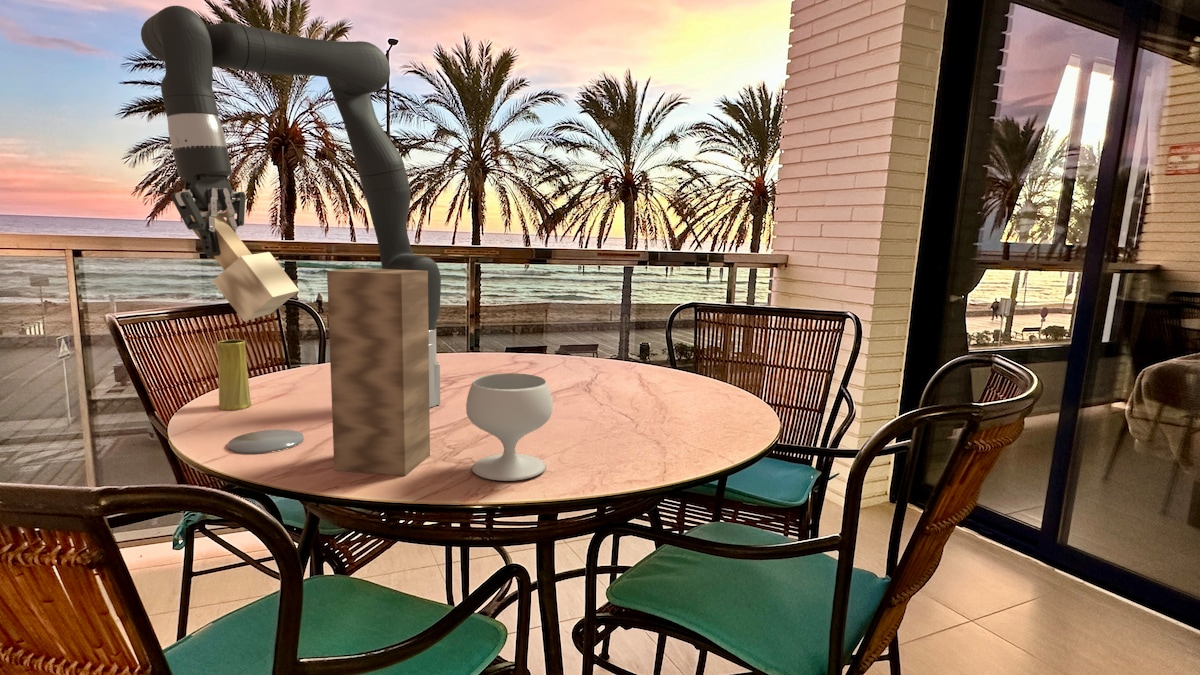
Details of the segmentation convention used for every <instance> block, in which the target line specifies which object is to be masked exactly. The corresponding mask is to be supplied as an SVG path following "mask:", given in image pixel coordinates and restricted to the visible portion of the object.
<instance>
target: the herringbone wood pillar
mask: <svg viewBox="0 0 1200 675" xmlns="http://www.w3.org/2000/svg"><path fill="white" fill-rule="evenodd" d="M326 276H327V277H326V279H327V281H326V282H327V283H326V284H327V285H326V286H327V305H328V306H327V308H328V332H329V334H328V335H329V357H330V358H329V362H330V388H331V391H330V392H331V416H332V417H331V418H332V419H331V420H332V445H333V468H334V469H333V470H334V471H337V472H338V471H339V472H349V473H350V472H352V473H353V472H354V473H361V474H362V473H364V474H374V475H375V474H377V475H378V474H379V475H387V476H388V475H389V476H400V477H402V476H403V477H406V476H408V474H410V473H411V472H412V471H413V470H414V469H415V468H417V467H418V466H419V465H420V464H421V463H422V462H424V461H425V460H426V459H427V458H428V457H429V456H431V436H430V435H431V434H430V433H431V429H430V428H431V427H430V426H431V425H430V423H431V422H430V418H431V417H430V414H431V413H430V408H429V327H428V271H420V270H394V269H382V268H365V267H363V268H362V267H358V268H357V267H356V268H348V269H347V268H346V269H335V270H327V271H326Z"/></svg>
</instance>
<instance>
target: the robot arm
mask: <svg viewBox="0 0 1200 675" xmlns="http://www.w3.org/2000/svg"><path fill="white" fill-rule="evenodd" d="M140 30H141V31H140V38H141V42H142V44H143V47H145V48H146V50H147V51H148V53H150V54H151V55H152V56H154V57H155V58H157V59H158V60H160V61H162V62H164V66H165V74H164V77H163V78H162V80H161V83H160V92H161V97H162V101H163V105H164V110H165V115H166V120H167V130H168V135H169V136H168V137H169V141H170V145H171V146H170V147H171V149H172V150H171V151H172V153H173V154H172V156H173V157H174V158H173V160H174V162H175V167H176V173H177V175H178V177H179V178H180V179H184V185H183V190H182V191H179V192H173V193H171V194H170V198H171V200H172V202H173V204H174V206H175V208H176V209H177V211H178V213H179V215H180V217H181V218H182V221H183V222H184V225H185V226H186V229H188V230H189V231H190V230H192V229H193V230H196V231H197V232H198V233H200V236H201V240H202V241H201V240H200V241H201V244H202V249H203V251H204V254H205V255H206V256H207V257H214V256H219V255H220V254H221V252H220V247H219V243H218V238H217V233H216V232H214V231H215V218H216V217H217V211H219V214H220V215H221V216H222V217H223V218H224V219H225V220H226V222H227V223H228V224H229V225H230V227H231V228H232V229H233V231H234V232H235V233H236V234H237V230H238V228H239V227H240V226H244V224H245V213H246V209H245V208H246V194H245V192H244V191H237V190H234V189H233V188H232V187H233V186H232V185H231V184H230V182H229V179H228V178H229V176H230V177H231V175H232V174H233V171H232V165H231V162H230V156H229V152H228V151H229V150H228V147H227V142H226V137H225V133H224V129H223V127H222V123H221V119H220V118H219V117H220V116H219V112H218V107H217V103H216V99H215V93H214V91H213V75H214V72H213V70H214V68H228V69H232V70H237V71H239V70H240V71H244V72H250V73H257V74H266V75H275V76H276V75H279V76H280V75H281V76H314V77H321V78H326V80H327V82H328V85H329V88H330V90H331V93H332V95H333V98H334V101H335V103H336V106H337V108H338V111H339V114H340V116H341V118H342V122H343V124H344V127H345V131H346V134H347V138H348V140H349V144H350V148H351V151H352V155H353V157H354V160H355V165H356V168H357V172H358V176H359V177H358V178H359V180H360V184H361V187H362V190H363V194H364V197H365V200H366V203H367V206H368V210H369V213H370V219H371V222H372V226H373V228H374V232H375V236H376V241H377V246H378V250H379V251H378V252H379V256H380V257H379V258H380V263H381V264H380V265H381V269H394V270H420V271H428V327H429V409H430V408H433V407H435V406H440V405H441V364H440V362H438V361H437V321H438V318H439V316H440V312H441V296H442V295H441V293H442V291H441V290H442V280H441V279H442V278H441V271H440V267H439V266H438V264H437V263H436V261H434V260H433V258H430V257H428V256H425V255H415V254H414V253H413V250H412V246H411V242H410V239H409V234H408V226H407V225H408V218H409V216H408V215H409V211H410V204H411V195H412V194H411V188H410V183H409V178H408V175H407V170H406V167H405V166H406V165H405V164H404V160H403V158H402V156H401V154H400V152H399V151H398V149H397V147H396V146H395V145H394V143H393V142H392V140H391V139H390V138H389V136H388V135H387V133H386V132H385V130H384V129H383V127H382V126H381V124H380V122H379V120H378V118H377V115H376V112H375V109H374V105H373V102H372V98H371V94H372V93H375V92H378V91H380V90H381V89H383V88H384V87H385V86H386V84H388V82H389V79H390V77H391V67H390V63H389V60H388V58H387V56H386V54H385V52H383V51H382V50H381V49H380V48H379V47H378V46H377V45H375V44H373V43H371V42H368V41H363V40H362V41H360V40H357V41H343V40H342V41H340V40H339V41H337V40H326V39H319V38H318V39H317V38H311V37H304V36H297V35H292V34H286V33H283V32H282V33H281V32H277V31H276V32H275V31H273V30H267V29H264V28H258V27H253V26H249V25H243V24H239V23H233V22H219V23H215V24H205V23H204V21H203V19H201V17H200V16H199V15H198V14H197V13H196V12H195V11H193V10H192V9H190V8H188V7H186V6H182V5H169V6H167V7H164V8H162V9H161V10H160V11H158V12H156V13H155V14H153V15H152V16H150V17H149V18H148V19H147V20H145V21H144V23H143V25H142V27H141V29H140ZM198 209H199V210H201V211H207V212H199V210H198ZM190 215H192V216H193V218H194V220H195V221H193V220H192V218H191V216H190ZM235 215H236V218H235ZM204 218H206V219H207V223H205V221H204ZM193 230H192V231H193Z"/></svg>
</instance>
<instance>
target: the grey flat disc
mask: <svg viewBox="0 0 1200 675" xmlns="http://www.w3.org/2000/svg"><path fill="white" fill-rule="evenodd" d="M301 442H302V443H303V442H304V434H303V433H302V432H300V431H298V430H293V429H280V428H279V429H267V430H265V429H264V430H257V431H253V432H248V433H245V434H244V433H243V434H240V435H238V436H235V437H233V438H232V439H231V440H229V441H228V444H227V446H228V450H230V451H231V452H234V453H237V454H244V455H245V454H246V455H247V454H248V455H258V454H257V453H261V454H266V453H265V452H271V453H273V452H272V451H277V452H279V451H278V450H282V451H284V450H283V449H286V448H289V449H291V448H290V447H292V448H294V447H293V446H295V445H297V446H299V445H300V444H302V443H301ZM299 443H300V444H299ZM298 444H299V445H298ZM295 447H296V446H295ZM286 450H287V449H286Z"/></svg>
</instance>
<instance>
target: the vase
mask: <svg viewBox="0 0 1200 675" xmlns="http://www.w3.org/2000/svg"><path fill="white" fill-rule="evenodd" d="M216 353H217V362H218V363H217V364H218V371H217V372H218V409H219V410H220V411H221V410H222V411H237V410H238V411H240V410H245V409H247V408H250V407H251V406H252V402H251V401H252V400H251V393H250V385H249V384H250V381H249V374H248V372H249V371H248V363H247V349H246V340H244V339H224V340H218V341H217V342H216ZM244 408H245V409H244ZM239 409H240V410H239Z"/></svg>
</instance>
